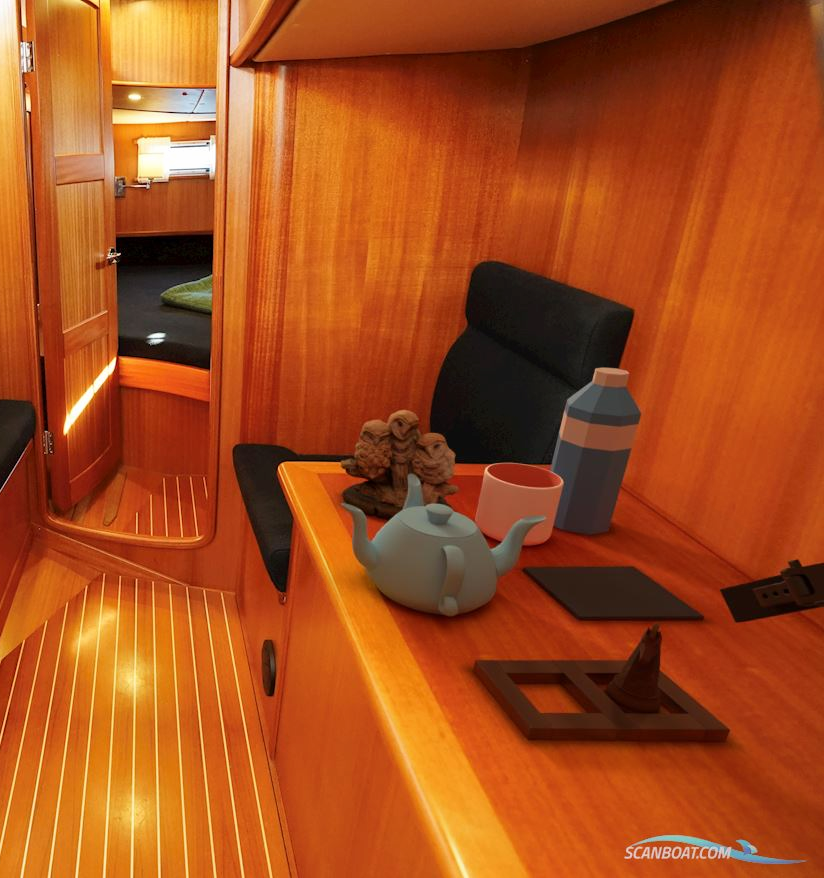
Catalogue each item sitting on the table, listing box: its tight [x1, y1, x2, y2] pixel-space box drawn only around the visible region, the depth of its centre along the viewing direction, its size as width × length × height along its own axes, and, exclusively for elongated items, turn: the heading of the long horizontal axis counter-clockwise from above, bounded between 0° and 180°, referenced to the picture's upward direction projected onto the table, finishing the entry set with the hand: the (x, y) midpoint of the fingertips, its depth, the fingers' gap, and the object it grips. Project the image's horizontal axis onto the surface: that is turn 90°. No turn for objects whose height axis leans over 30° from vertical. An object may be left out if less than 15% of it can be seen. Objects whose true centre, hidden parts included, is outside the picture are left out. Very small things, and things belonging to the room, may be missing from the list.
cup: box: [474, 462, 564, 547], centre depth 108 cm, size 10×10×10 cm
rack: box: [472, 659, 731, 742], centre depth 74 cm, size 19×11×2 cm, turn 87°
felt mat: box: [522, 566, 705, 621], centre depth 93 cm, size 15×12×1 cm
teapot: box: [340, 474, 546, 617], centre depth 94 cm, size 17×19×12 cm
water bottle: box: [549, 367, 642, 536], centre depth 108 cm, size 9×9×25 cm
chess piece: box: [603, 621, 663, 714], centre depth 73 cm, size 5×5×10 cm
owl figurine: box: [340, 409, 459, 521], centre depth 117 cm, size 18×12×17 cm, turn 68°
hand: (806, 599), depth 57 cm, fingers open, 13 cm apart
